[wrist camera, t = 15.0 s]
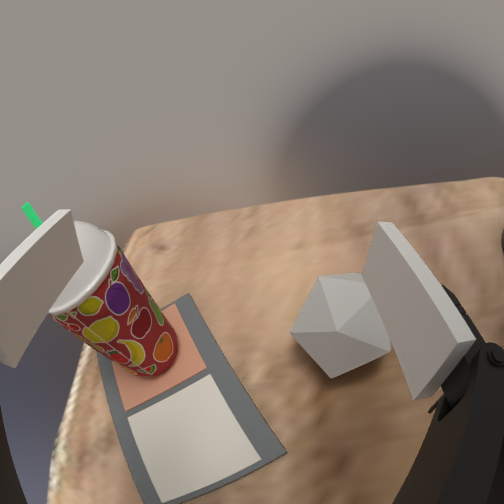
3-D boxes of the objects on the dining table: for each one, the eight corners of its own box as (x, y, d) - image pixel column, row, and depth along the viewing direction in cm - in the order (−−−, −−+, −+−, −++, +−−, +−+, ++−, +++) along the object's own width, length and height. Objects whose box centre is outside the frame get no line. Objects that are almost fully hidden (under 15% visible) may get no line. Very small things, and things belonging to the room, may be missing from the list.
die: (338, 407, 22) (422, 352, 16) (258, 355, 23) (323, 280, 17) (358, 346, 28) (421, 288, 22) (293, 301, 30) (346, 231, 24)
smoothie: (117, 340, 31) (2, 210, 17) (176, 308, 32) (76, 155, 19) (132, 400, 25) (-28, 270, 11) (201, 366, 26) (63, 196, 13)
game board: (191, 296, 34) (187, 291, 34) (287, 452, 19) (285, 451, 19) (99, 350, 31) (94, 347, 31) (152, 512, 17) (147, 512, 16)
